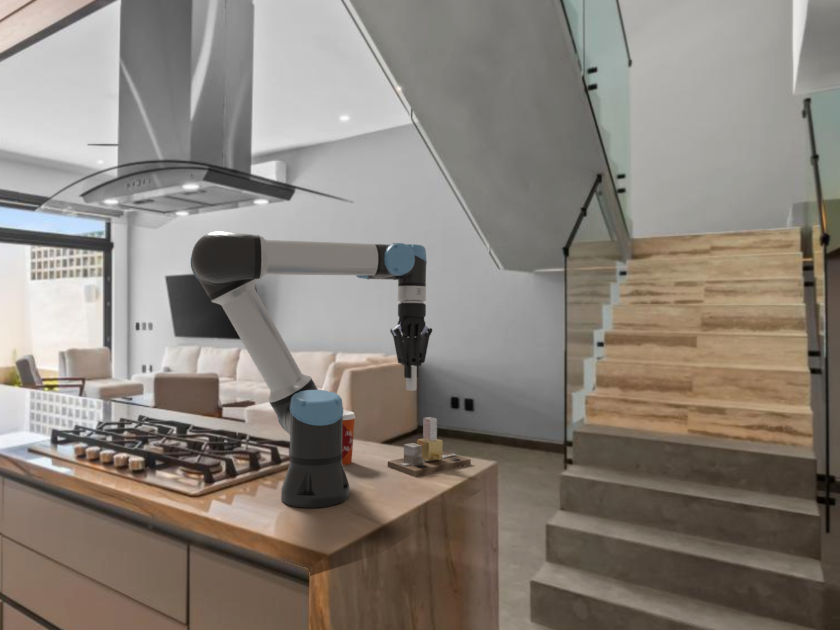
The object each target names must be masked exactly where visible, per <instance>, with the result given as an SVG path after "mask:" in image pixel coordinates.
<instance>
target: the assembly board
mask: <svg viewBox="0 0 840 630" xmlns="http://www.w3.org/2000/svg"><path fill="white" fill-rule="evenodd" d="M448 455H451V456H448ZM471 462H472V461H471V458H469V459H468V457H465V456H461V455H458V454H455V453H450V452H447V451H444V450H443V452H442V459H440V462H438V459H437V460H432V461H426V460H423V457H422V446H421V445H418V444H417V443H414V442H411V443H406V444H405V443H404V444H403V458H402V457H401V458H398V459H391V460H387V468H389V469H393V470H395V471H398V472H401V473H404V474H406V475H409V476H411V477H414V478H416V477H420V476H425V475H429V474H430V475H431V474H434V473H438V472H443V471H447V470H452V469H451V468H453V469H456V468H455V467H457V468H460V467H459V466H462V467H465V466H464V465H466V466H469V465H468V464H471ZM471 465H472V464H471Z"/></svg>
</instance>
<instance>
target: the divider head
mask: <svg viewBox="0 0 840 630" xmlns="http://www.w3.org/2000/svg"><path fill="white" fill-rule="evenodd" d="M422 420H423V422H422V425H423V426H422V427H423V428H422V438H418V439H417V440H416V444H418V445H421V446H422V457H423V460H426V461H432V460H437V459H438V462H440V459H442V452H443V451H444V450H443V446H444V445H443V443H444V442H443V441H444V440H442V439H438V438H437V437H438V436H437V435H438V418H435V417H433V416H432V417H431V416H429V417H428V416H426V417H423V419H422Z"/></svg>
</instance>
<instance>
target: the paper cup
mask: <svg viewBox="0 0 840 630" xmlns="http://www.w3.org/2000/svg"><path fill="white" fill-rule="evenodd" d="M356 418H357V417H356V414H355V412H353V411H349V410H343V424H342V464H343V466H348V465H350V464H352V460H353V449H354V448H353V445H354V433H355V419H356Z"/></svg>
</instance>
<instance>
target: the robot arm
mask: <svg viewBox="0 0 840 630" xmlns="http://www.w3.org/2000/svg"><path fill="white" fill-rule="evenodd" d="M192 248H193V249H192V252H191V257H190V268H191V271H192V274H193V275H194V277H195V278H196V279H197V280H198V282H200V285H201V287H202V288H203V289H204V292H205V293H206V295H207V296H208V298H209V300H210V302H211V303H214V304H217V305H220V306H221V307H222V309H223V311H224V312H225V315H226V316H227V317H228V320H229V321H230V323H231V325H232V326H233V328H234V330H235V332H236V333H237V335H238V337H239V339H240V341H241V342H242V344H243V345H244V347H245V350H246V351H247V352H248V354H249V356H250V358H251V360H252V361H253V363H254V365H255V367H256V369H257V370H258V372H259V373H260V375H261V377H262V380H264V382H265V385H266V386H267V388H268V389H269V392H270V393H269V397H268V403H269V404H270V406H271V407H272V409H273V411H274V413H275V415H276V417H277V418H278V419H277V420H278V423H279V425H280V426H281V428H282V429H283V431H285V432H286V433H287V434H288V435H289V464H288V469H287V471H286V475H285V477H284V480H283V482H282V485H281V491H280V492H281V493H280V499H281V502H282V503H283V504H285V505H288V506H292V507H295V508H296V507H297V508H307V509H308V508H309V509H312V508H313V509H314V508H325V507H331V506H335V505H338V504H341V503H343V502H345V501H346V500H348V499H349V497H350V484H349V481H348V478H347V474H346V472H345V468H344V465H343V464H342V424H343V411H344V406H343V399H342V397H341V396H340V395H339V394H338V393H337V392H334V391H328V390H326V389H325V390H322V389H318V387H317V386H316V384H315V382H314V380H313V378H312V377H311V375H307V374H304V373H302V371H301V370H300V368H299V365H298V364H297V362H296V360H295V358H294V357H293V355H292V353H291V351H290V350H289V348H288V345H286V342H285V340H284V339H283V337H282V335H281V333H280V332H279V330H278V328H277V327H276V325H275V323H274V320H273V319H272V317H271V315H270V314H269V311H268V310H267V308H266V307H265V304H264V303H263V301H262V299H261V297H260V296H259V294H258V292H257V291H256V285H257V284H256V283H257V280H261V279H262V278H263V277H264V276H266V275H278V276H280V275H284V276H285V275H287V276H288V275H289V276H290V275H291V276H295V275H297V276H308V275H309V276H355V277H357V278H358V279H364V280H368V281H369V280H393V281H397V301H398V302H399V303H398V304H397V316H398V322H397V325H396V326H395V327H393V328H390V334H391V336H392V337H393V342H394V348H395V353H396V358H397V363H398V364H401V365H402V366H403V369H404V371H403V373H404V374H403V376H404V378H405V390H406V391H412V392H413V391H417V384H418V383H417V380H418V379H417V378H418V377H419V367H420V366H422V364H424V363H425V362H426V357H427V351H428V346H429V340H430V336H431V335H432V332H433V328H431V327H428V326H427V325H426V321H425V317H426V316H427V315H426V313H427V311H426V310H427V304H426V303H424V302H426V300H427V299H426V297H427V283H426V282H427V251H426V247H425V246H424V245H422V244H415V243H413V244H412V243H411V244H409V243H407V244H406V243H404V242H392V244H384V243H383V244H378V243H357V242H356V243H353V242H334V241H333V242H329V241H328V242H327V241H303V240H278V239H277V240H275V239H272V240H271V239H265V238H264V237H263V236H262V235H261V234H251V233H250V234H248V233H239V232H238V233H237V232H230V231H222V230H221V231H212V232H208V233H207V234H205V235H203V236H201V237H200V238H199V239H198V240H197V241H196V243H194V246H193V247H192Z"/></svg>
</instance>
